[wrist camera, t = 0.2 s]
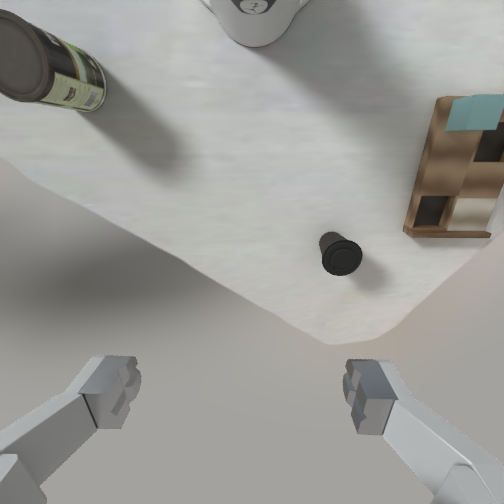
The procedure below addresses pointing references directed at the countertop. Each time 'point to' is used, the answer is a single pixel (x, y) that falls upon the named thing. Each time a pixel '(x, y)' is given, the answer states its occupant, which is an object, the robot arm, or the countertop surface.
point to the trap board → (456, 179)
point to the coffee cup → (339, 254)
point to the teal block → (475, 113)
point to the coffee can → (47, 68)
